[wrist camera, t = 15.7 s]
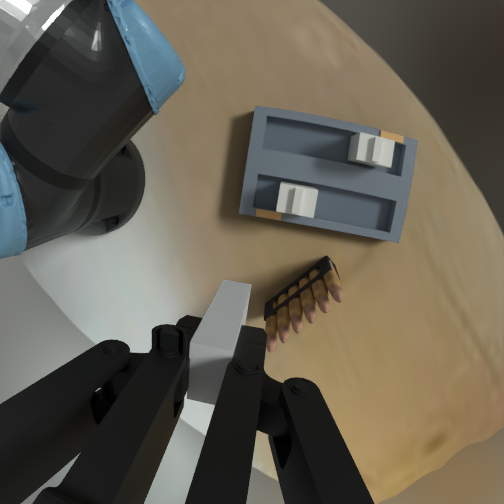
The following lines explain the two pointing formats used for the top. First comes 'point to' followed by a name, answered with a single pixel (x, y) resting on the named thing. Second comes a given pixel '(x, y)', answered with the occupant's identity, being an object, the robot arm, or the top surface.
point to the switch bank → (326, 174)
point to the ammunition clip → (301, 301)
